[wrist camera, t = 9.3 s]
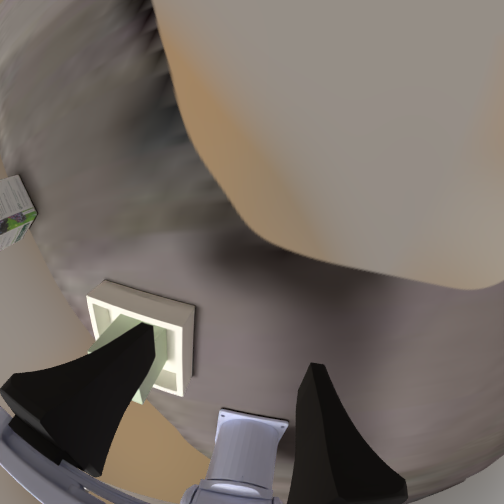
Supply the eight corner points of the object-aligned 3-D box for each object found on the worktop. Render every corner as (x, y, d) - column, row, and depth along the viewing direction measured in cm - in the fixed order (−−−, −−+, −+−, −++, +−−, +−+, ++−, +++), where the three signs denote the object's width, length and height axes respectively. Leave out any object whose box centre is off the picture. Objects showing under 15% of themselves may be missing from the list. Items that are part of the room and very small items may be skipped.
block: (167, 359, 24) (142, 404, 19) (127, 345, 25) (98, 385, 19) (166, 325, 22) (135, 371, 17) (122, 310, 23) (87, 350, 17)
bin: (192, 376, 26) (183, 397, 23) (116, 349, 26) (103, 366, 24) (194, 305, 22) (182, 327, 19) (104, 279, 23) (86, 295, 20)
